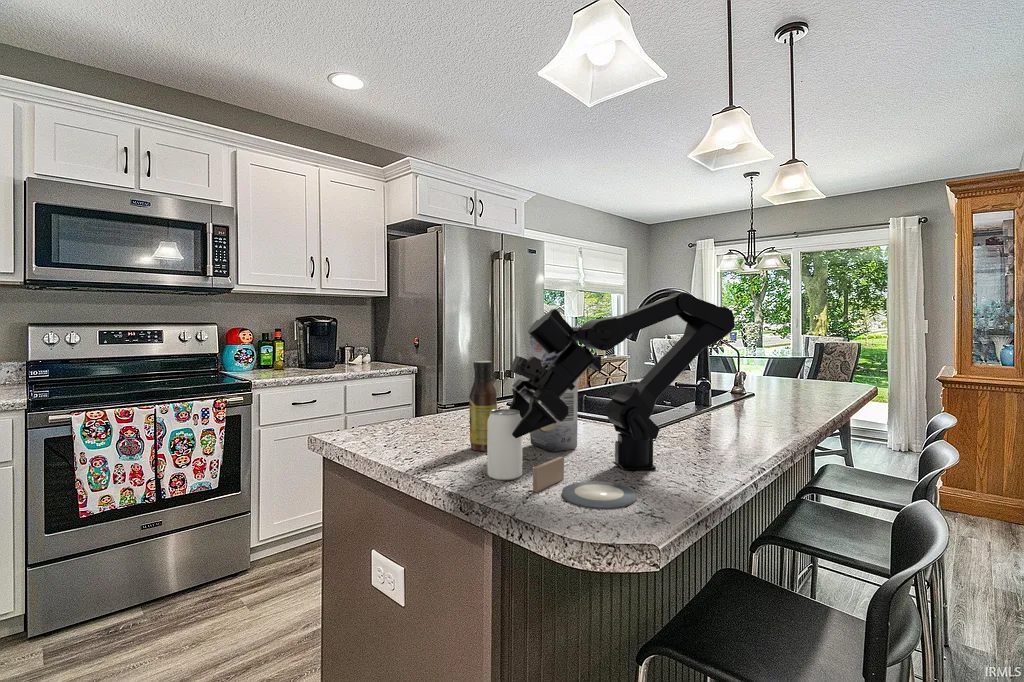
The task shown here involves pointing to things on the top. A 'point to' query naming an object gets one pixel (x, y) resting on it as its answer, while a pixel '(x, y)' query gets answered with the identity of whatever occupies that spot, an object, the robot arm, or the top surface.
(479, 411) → the sauce bottle
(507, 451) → the can
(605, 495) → the slate plate
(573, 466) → the top surface
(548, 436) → the juice carton
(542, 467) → the brown wall
